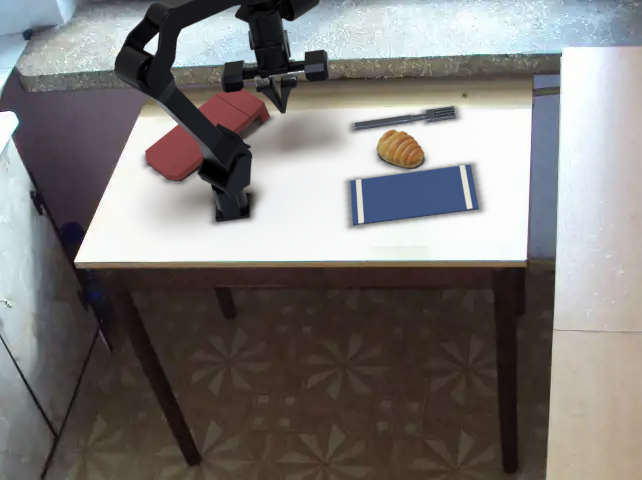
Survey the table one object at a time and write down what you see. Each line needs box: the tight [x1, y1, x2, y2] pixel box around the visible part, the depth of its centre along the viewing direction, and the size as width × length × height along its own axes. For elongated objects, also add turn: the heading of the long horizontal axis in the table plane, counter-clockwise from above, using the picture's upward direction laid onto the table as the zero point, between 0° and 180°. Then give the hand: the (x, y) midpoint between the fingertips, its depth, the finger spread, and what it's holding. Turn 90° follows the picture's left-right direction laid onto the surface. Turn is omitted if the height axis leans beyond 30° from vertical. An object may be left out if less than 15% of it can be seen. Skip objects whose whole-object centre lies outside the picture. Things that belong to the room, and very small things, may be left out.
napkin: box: [350, 164, 480, 226], centre depth 170 cm, size 12×22×1 cm, turn 89°
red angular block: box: [144, 88, 271, 181], centre depth 190 cm, size 12×5×25 cm
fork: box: [354, 105, 457, 131], centre depth 184 cm, size 3×19×1 cm, turn 89°
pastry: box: [375, 128, 425, 169], centre depth 176 cm, size 9×7×4 cm
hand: (283, 112), depth 172 cm, fingers closed
